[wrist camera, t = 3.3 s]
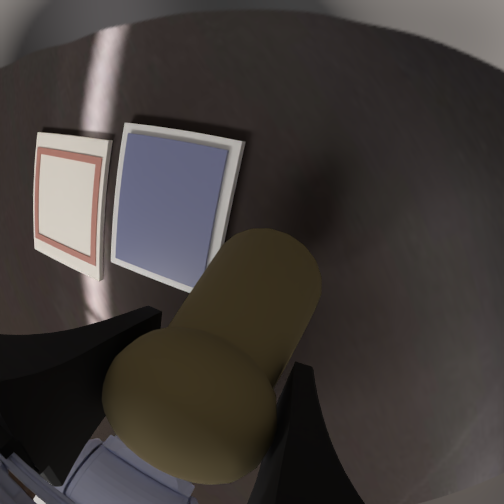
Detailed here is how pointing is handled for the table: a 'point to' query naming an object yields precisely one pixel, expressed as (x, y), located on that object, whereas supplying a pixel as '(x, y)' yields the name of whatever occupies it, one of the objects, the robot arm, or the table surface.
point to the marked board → (71, 199)
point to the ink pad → (172, 201)
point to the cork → (216, 362)
